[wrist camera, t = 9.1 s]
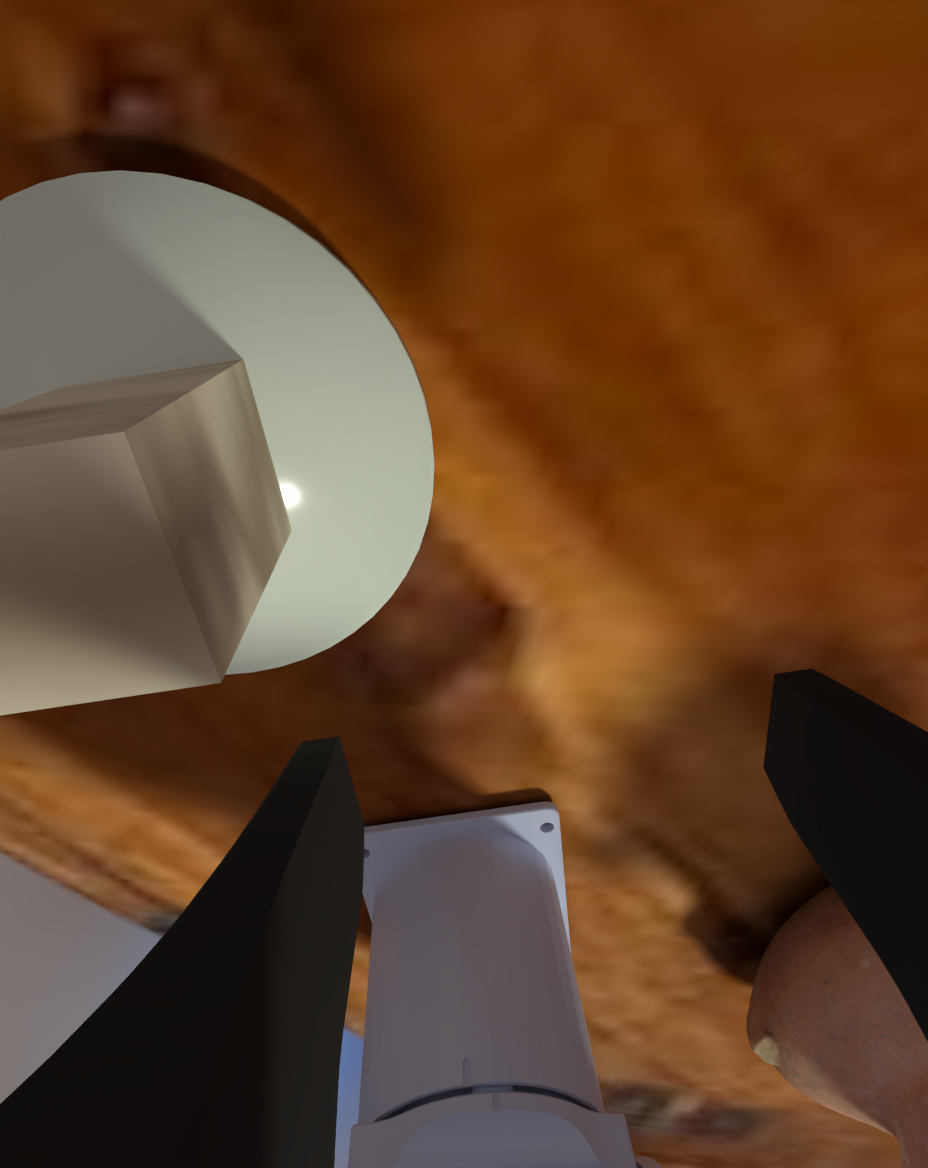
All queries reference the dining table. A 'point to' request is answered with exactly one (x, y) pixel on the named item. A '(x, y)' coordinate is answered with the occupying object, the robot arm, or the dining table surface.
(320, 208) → the dining table surface
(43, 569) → the block
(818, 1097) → the ceramic jug
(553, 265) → the dining table surface
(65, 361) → the plate
